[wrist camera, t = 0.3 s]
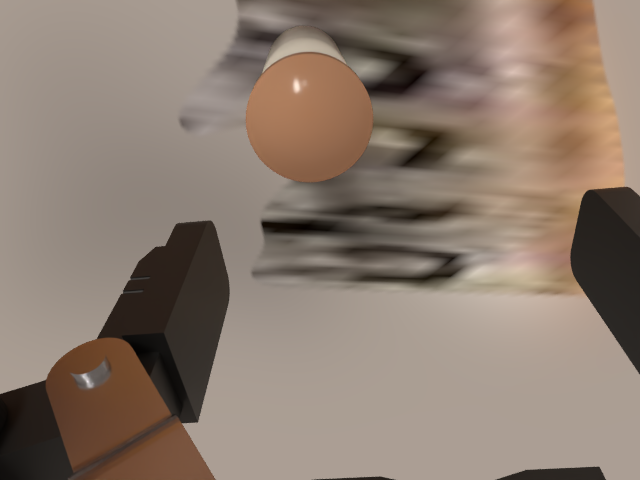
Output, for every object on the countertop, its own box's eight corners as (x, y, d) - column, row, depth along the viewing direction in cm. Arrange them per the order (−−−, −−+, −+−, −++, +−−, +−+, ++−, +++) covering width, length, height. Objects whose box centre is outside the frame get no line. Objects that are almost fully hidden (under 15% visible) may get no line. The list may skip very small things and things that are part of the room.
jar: (254, 33, 35) (229, 72, 21) (335, 13, 34) (361, 41, 21) (275, 113, 37) (264, 193, 24) (350, 96, 37) (382, 167, 24)
